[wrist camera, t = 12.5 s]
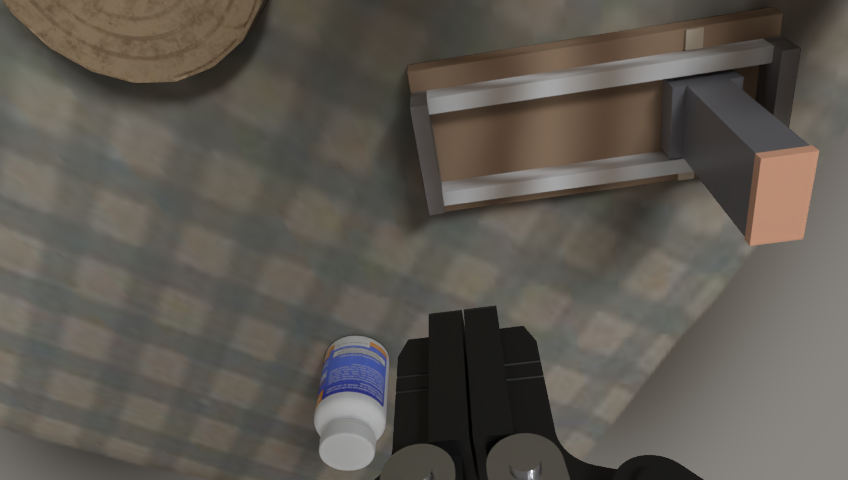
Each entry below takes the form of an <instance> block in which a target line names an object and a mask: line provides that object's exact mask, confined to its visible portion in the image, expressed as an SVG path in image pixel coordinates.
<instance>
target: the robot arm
mask: <svg viewBox="0 0 848 480" xmlns="http://www.w3.org/2000/svg"><path fill="white" fill-rule="evenodd" d="M464 319H465V326H464V320H463V315H462V310H457V311H449V312H441V313H433V314H429V337H427V338H419V339H410V340H408V341H407V343H406V345H405V346H404V348H403V350H402V351H401V353H400V355H399V356H398V366H397V383H396V399H395V416H394V432H393V449H392V455H391V457H390V458H389V459H388V460H387V462H386V463H385V464H384V466H383V468H382V471H381V474H380V475H379V476H378V477H377V478H376V479H375V480H703V479H702V478H700V477H699V476H697V475H696V474H694V473H693V472H691V471H690V470H688V469H686V468H685V467H684V466H682V465H681V464H679V463H677V462H675V461H673V460H671V459H668V458H665V457H662V456H656V455H643V456H637V457H634V458H631V459H629V460H628V461H626V462H624V463H623V464H622V465H621V466H620V467H619V468H618V469H612V468H606V467H601V466H596V465H592V464H588V463H585V462H583V461H581V460H579V459H577V458H575V457H574V456H572V455H571V454H569V453H568V452H567V451H566V450H565V449H564V448H563V446H562V445H561V444H560V442H559V440H558V438H557V436H556V433H555V428H554V423H553V418H552V414H551V409H550V404H549V399H548V395H547V390H546V385H545V380H544V376H543V371H542V366H541V362H540V356H539V352H538V347H537V342H536V340H535V339H534V338H533V337H532V335H531V334H530V333H529V332H528V331H527V330H526V329H525V327H524V326H519V327H510V328H502V329H499V322H498V315H497V308H496V306H489V307H481V308H473V309H464Z"/></svg>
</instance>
